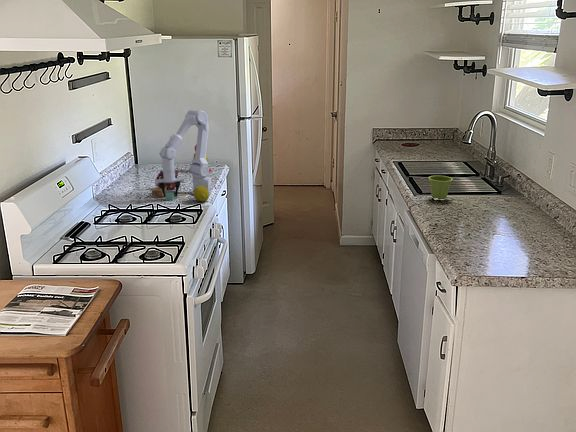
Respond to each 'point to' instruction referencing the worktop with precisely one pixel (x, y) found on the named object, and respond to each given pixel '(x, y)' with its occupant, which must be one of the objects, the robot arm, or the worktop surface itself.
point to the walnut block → (158, 193)
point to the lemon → (201, 193)
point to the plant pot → (440, 186)
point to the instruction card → (183, 195)
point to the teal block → (170, 195)
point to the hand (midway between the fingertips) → (170, 196)
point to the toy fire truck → (170, 185)
